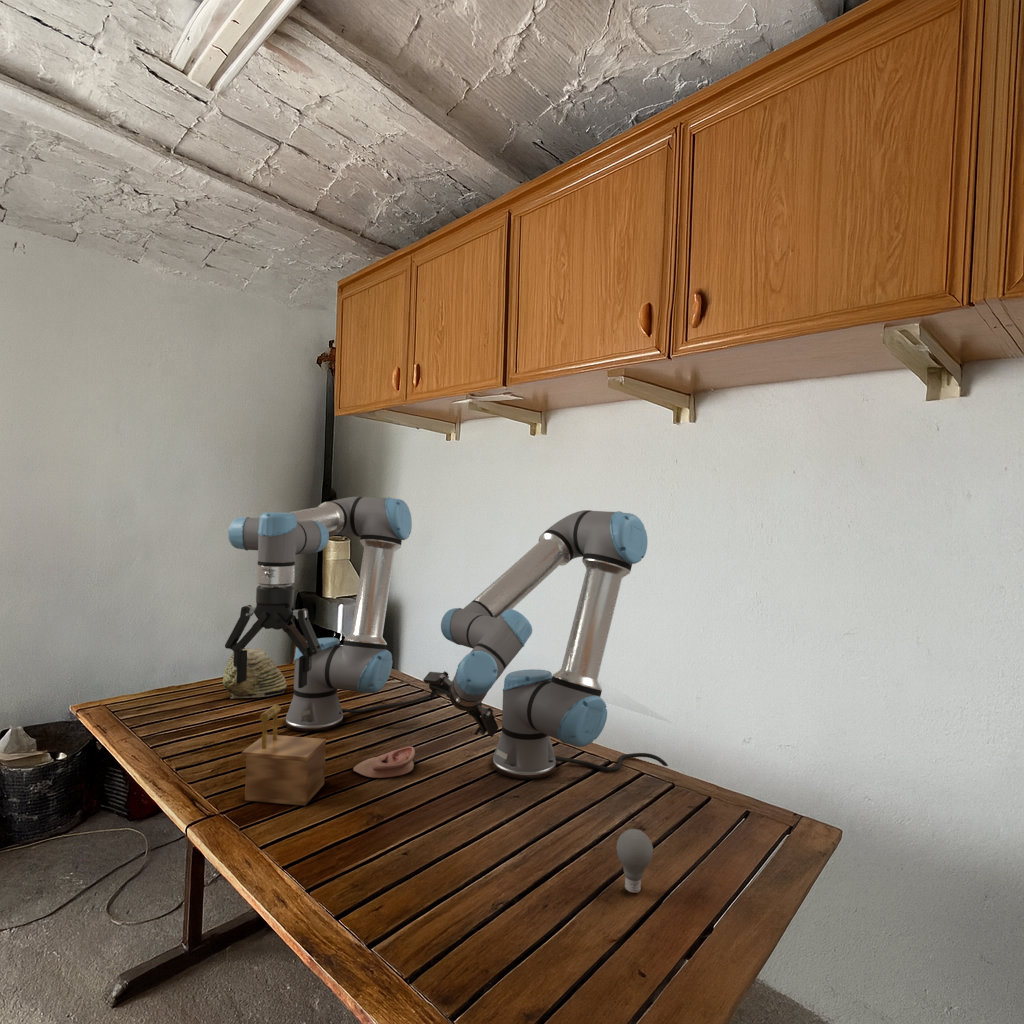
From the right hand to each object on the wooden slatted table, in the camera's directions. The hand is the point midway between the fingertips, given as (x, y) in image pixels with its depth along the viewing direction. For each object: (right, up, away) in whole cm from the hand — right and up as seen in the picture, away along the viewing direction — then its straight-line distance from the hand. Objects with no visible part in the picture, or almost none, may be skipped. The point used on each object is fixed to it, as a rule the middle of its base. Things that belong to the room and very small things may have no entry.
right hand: (456, 711), depth 151 cm
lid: (-35, -3, -16) cm, 39 cm away
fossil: (-67, -10, +47) cm, 83 cm away
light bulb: (+33, -16, -45) cm, 58 cm away
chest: (-35, -12, -16) cm, 40 cm away
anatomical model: (-17, -13, -2) cm, 21 cm away
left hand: (-38, +11, -16) cm, 43 cm away
